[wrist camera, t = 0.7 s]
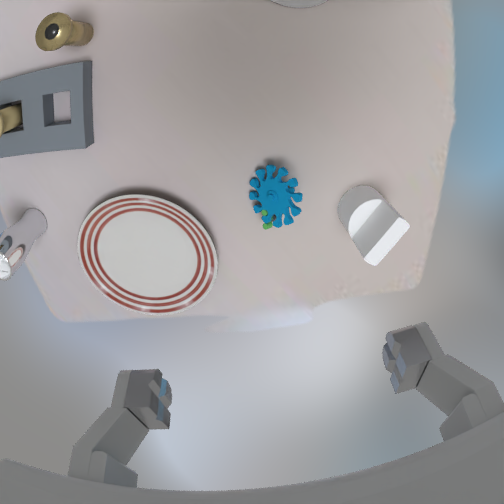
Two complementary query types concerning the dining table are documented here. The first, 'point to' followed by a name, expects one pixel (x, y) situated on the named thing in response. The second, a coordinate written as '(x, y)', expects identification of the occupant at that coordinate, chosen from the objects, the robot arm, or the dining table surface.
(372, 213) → the white toy chair
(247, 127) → the dining table surface
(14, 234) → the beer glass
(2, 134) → the jig
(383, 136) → the dining table surface
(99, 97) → the dining table surface
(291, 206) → the gear
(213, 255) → the dinner plate
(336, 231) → the dining table surface
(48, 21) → the bushing
